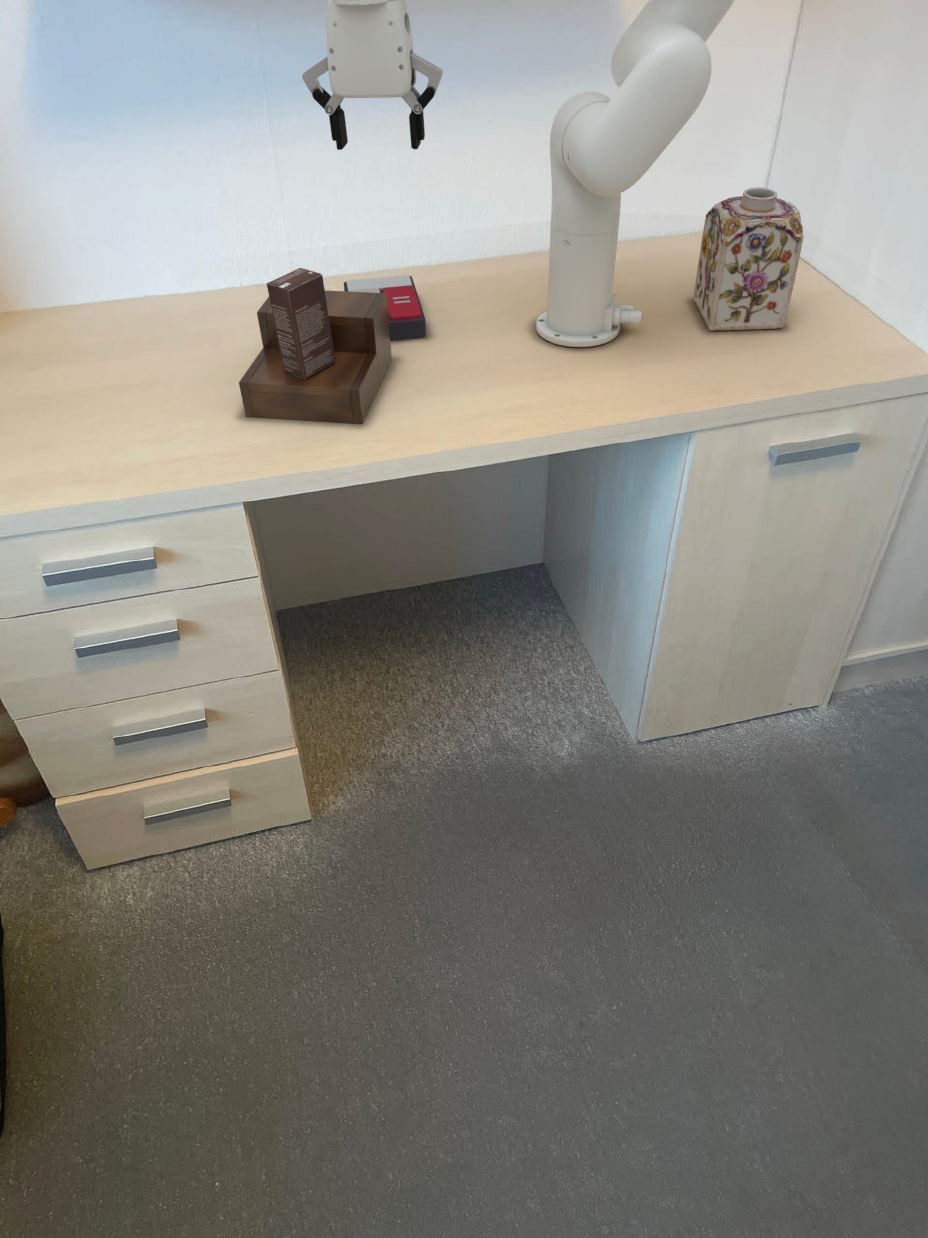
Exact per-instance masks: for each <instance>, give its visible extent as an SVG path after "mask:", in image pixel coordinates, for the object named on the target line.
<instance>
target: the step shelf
mask: <svg viewBox="0 0 928 1238" xmlns="http://www.w3.org/2000/svg"><path fill="white" fill-rule="evenodd" d="M325 296H326V302H327V309H328V315H329V322H330V328H331V335H332V341H333V348H334V355H335V361H336V363H334V364H332V365H330V366H328V367H326V368H325V369H323V370H321V371H319V372H318V373H316V374H314V375H312V376H310V377H309V378H307V379H305V380H304V379H301V378H298V377H296V376H293V375H291V374H289V373H286V372H285V371H284V369H283V364H282V359H281V354H280V349H279V344H278V339H277V334H276V328H275V323H274V318H273V313H272V308H271V303H270V298H269V296H268V297H267V298H266V299H265V301H264V302H263V303H262V305H261V306H260V307H259V309H258V310H257V311H256V316H257V321H258V326H259V332H260V333H259V334H260V338H261V343H262V349H261V350H260V351H259V353H258V354H257V355H256V357H255V359H254V360H253V362H252V363H251V364H250V366H249V367H248V368H247V370H246V371H245V373H244V374H243V376H241V378H240V380H239V382H238V386H239V390H240V395H241V400H242V405H243V410H244V415H245V417H246V418H263V419H277V420H291V421H308V422H309V421H311V422H324V423H338V424H355V425H356V424H357V425H363V424H364V422H365V420H366V418H367V415H368V413H369V411H370V408H371V407H372V404H373V402H374V401H375V398H376V395H377V393H378V391H379V389H380V387H381V384H382V383H383V381H384V378H385V376H386V374H387V372H388V370H389V367H390V365H391V363H392V361H393V359H392V358H393V357H392V346H391V345H392V343H391V341H390V331H389V319H388V307H387V294H386V293H370V292H348V291H343V290H325Z"/></svg>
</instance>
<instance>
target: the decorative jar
mask: <svg viewBox="0 0 928 1238" xmlns="http://www.w3.org/2000/svg"><path fill="white" fill-rule="evenodd" d="M804 238H805V236H804V228H803V225H802V216H801V212H800V211H799V210H798V208H797V206H795V205H794V203H792V202H790V201H787V200H785V199H781V198H778V193H777V191H775V190H774V189H772V188H767V187H762V186H754V187H749V188H746V189H744V190H743V193H742V195H738V196H732V197H727V198H726V199H723V200H722V201H720V202H719V201H718V202H717V203H715V204H714V205H713V206H712V207H711V208H710V210H709V211H707V213H706V214H705V219H704V224H703V230H702V236H701V243H700V251H699V256H698V257H699V258H698V262H697V263H698V264H697V270H696V276H695V284H694V293H693V302H694V303H695V305H696V307H697V309H698V310H699V312H700V315H701V316H702V318H703V320H704V322H705V324H706V327H707V329H708V330H709V331H710V332H713V331H716V332H717V331H745V330H747V331H750V330H774V329H782V328H784V325H785V322H786V320H787V319H786V318H787V316H788V311H789V307H790V302H791V299H792V296H793V290H794V285H795V281H796V278H797V277H796V275H797V271H798V267H799V262H800V257H801V252H802V248H803V243H804Z"/></svg>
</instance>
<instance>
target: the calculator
mask: <svg viewBox="0 0 928 1238" xmlns="http://www.w3.org/2000/svg"><path fill="white" fill-rule="evenodd" d="M343 290H344V291H348V292H370V293H386V294H387V307H388V319H389V331H390V342H392V341H402V340H413V339H423V338H426V337H427V324H426V316H425V313H424V310H423V306H422V304H421V300H420V298H419V295H418V291H417V288H416V284H415V281H414V279H413V276H412V275H409V274H403V275H402V274H401V275H392V276H379V277H370V278H358V279H347V280H346V281H344V282H343Z"/></svg>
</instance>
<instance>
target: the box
mask: <svg viewBox="0 0 928 1238" xmlns="http://www.w3.org/2000/svg"><path fill="white" fill-rule="evenodd" d="M266 288H267V293H268V297H269V298H270V303H271V308H272V313H273V318H274V323H275V328H276V334H277V339H278V344H279V349H280V354H281V359H282V364H283V369H284V371H285V372H286V373H289V374H291V375H293V376H296V377H298V378H301V379H304V380H305V379H307V378H309V377H310V376H312V375H314V374H316V373H318V372H319V371H321V370H323V369H325V368H326V367H328V366H330V365H332V364H334V363H336V361H335V355H334V348H333V341H332V335H331V328H330V322H329V315H328V309H327V302H326V296H325V289H326V288H325V284H324V277H323V273H320V272H316V271H313V270H309V269H306V268H303V267H298V268H297V269H295V270H294V269H293V270H292V271H290V272H288V273H286V274H283V275H282V276H279V277H277V278H274V279H273V280H270V281H269V282H266Z"/></svg>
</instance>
